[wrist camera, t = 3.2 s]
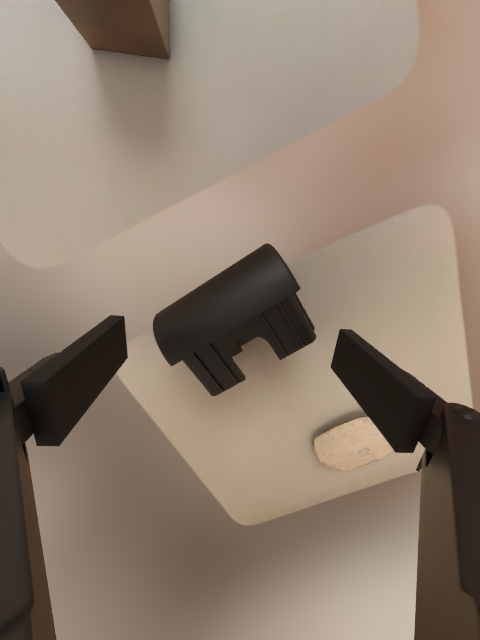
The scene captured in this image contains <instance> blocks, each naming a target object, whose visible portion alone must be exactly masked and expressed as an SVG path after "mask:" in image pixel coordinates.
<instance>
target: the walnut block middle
mask: <svg viewBox="0 0 480 640" xmlns="http://www.w3.org/2000/svg"><path fill="white" fill-rule="evenodd" d="M55 1H56V2H57V4H58V5H59V6H60V8H61V9H62V10H63V12H64V13H65V14H66V15H67V17H68V18H69V19H70V21H71V22H72V23H73V25H74V26H75V27H76V29H77V30H78V31H79V33H80V34H81V35H82V37H83V38H84V39H85V41H86V42H87V43H88V45H89V46H90V47H91V48H95V49H102V50H109V51H116V52H124V53H131V54H138V55H145V56H153V57H160V58H167V59H169V57H170V51H169V0H55Z"/></svg>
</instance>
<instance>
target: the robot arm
mask: <svg viewBox="0 0 480 640" xmlns="http://www.w3.org/2000/svg"><path fill="white" fill-rule="evenodd" d="M127 358H128V356H127V344H126V333H125V320H124V316H114V315H111V316H109V317H108V318H106V319H105V320H104V321H102V322H101V323H99V324H98V325H97V326H95V327H94V328H93V329H91V330H90V331H89V332H87V333H86V334H84V335H83V336H82V337H80V338H79V339H78V340H76V341H75V342H73V343H72V344H71V345H69V346H68V347H67V348H65V349H64V350H63V351H62V352H60V353H55V354H52V355H50V356H47V357H45V358H43V359H42V360H40V361H39V362H37V363H36V364H35V365H34V366H32V367H30V368H29V369H27V371H24V372H23V373H21V374H20V375H19V376H17V377H16V378H14V379H13V380H12V381H10V382H9V383H8V381H7V377H6V374H5V370H4V369H3V368H2V367H0V640H56V635H55V628H54V622H53V615H52V608H51V602H50V596H49V590H48V583H47V576H46V570H45V564H44V557H43V550H42V544H41V537H40V531H39V524H38V518H37V511H36V505H35V498H34V492H33V485H32V479H31V472H30V466H29V460H28V453H27V448H26V444H25V442H26V441H27V440H28V439H29V437H30V436H31V435H32V434H33V433H34V436H35V440H36V444H37V446H60V444H61V443H62V442H63V440H64V439H65V438H66V437H67V435H68V434H69V433H70V431H71V430H72V429H73V427H74V426H75V425H76V424H77V422H78V421H79V420H80V418H81V417H82V416H83V415H84V413H85V412H86V411H87V409H88V408H89V407H90V406H91V404H92V403H93V402H94V400H95V399H96V398H97V397H98V395H99V394H100V393H101V391H102V390H103V389H104V388H105V386H106V385H107V383H108V382H109V381H110V380H111V378H112V377H113V376H114V375H115V373H116V372H117V371H118V369H119V368H120V367H121V366H122V364H123V363H124V362H125V360H126V359H127ZM331 368H332V370H333V371H334V372H335V374H336V375H337V376H338V378H339V379H340V380H341V381H342V383H343V384H344V385H345V387H346V388H347V389H348V391H349V392H350V393H351V395H352V396H353V397H354V398H355V400H356V401H357V402H358V404H359V405H360V406H361V408H362V409H363V410H364V412H365V413H366V414H367V416H368V417H369V418H370V419H371V421H372V422H373V423H374V425H375V426H376V427H377V429H378V430H379V431H380V433H381V434H382V435H383V436H384V438H385V439H386V440H387V442H388V443H389V444H390V446H391V447H392V448H393V450H394V451H395V452H396V453H413V452H414V450H415V448H416V445H417V443H418V441H419V442H420V443H421V444H422V445H423V446H424V447H425V451H424V453H423V455H422V458H421V460H420V462H419V464H418V466H417V469H416V470H417V471H420V469H422V472H421V496H420V519H419V520H420V521H419V542H418V567H417V590H416V591H417V592H416V613H415V636H414V640H480V413H479V412H477V411H476V410H474V409H472V408H469V407H467V406H464V405H461V404H457V403H447V402H446V401H444V400H443V399H442V398H441V397H439V396H438V395H437V394H435V393H434V392H433V391H432V390H430V389H429V388H428V387H425V385H424V384H423V383H421V382H419V380H417V379H416V378H415V377H414V376H412V375H411V374H409V373H407V372H406V371H404V370H402V369H401V368H399V367H398V366H397V365H396V364H394V363H393V362H392V361H390V360H389V359H388V358H387V357H385V356H384V355H383V354H382V353H380V352H379V351H378V350H377V349H375V348H374V347H373V346H372V345H370V344H369V343H368V342H366V341H365V340H364V339H363V338H361V337H360V336H359V335H358V334H356V333H355V332H354V331H353V330H348V329H340V331H339V335H338V339H337V343H336V347H335V351H334V355H333V360H332V364H331Z"/></svg>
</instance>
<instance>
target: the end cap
mask: <svg viewBox="0 0 480 640" xmlns="http://www.w3.org/2000/svg"><path fill="white" fill-rule="evenodd" d="M299 290H300V286H299V285H298V283H297V281H296V279H295V278H294V276H293V274H292V273H291V271H290V269H289V268H288V266H287V265H286V263H285V262H284V260H283V259H282V257H281V256H280V255H279V253H278V252H277V251H276V249H275V248H274V247H273V246H272V245H270V244H264V245H263V246H261V247H260V248H258V249H257V250H255V251H254V252H252V253H250V254H249V255H247V256H246V257H244V258H243V259H241V260H240V261H238V262H236V263H235V264H233V265H232V266H230V267H229V268H227V269H226V270H224V271H222V272H221V273H220V274H218V275H216V276H215V277H213V278H212V279H210V280H209V281H207V282H206V283H204V284H202V285H201V286H199V287H198V288H196V289H195V290H193V291H191V292H190V293H188V294H187V295H185V296H184V297H182V298H181V299H179V300H177V301H176V302H174V303H173V304H171V305H170V306H168V307H167V308H165V309H164V310H162V311H160V312H159V313H158V314H156V316H155V318H154V321H153V332H154V336H155V339H156V342H157V345H158V347H159V349H160V351H161V352H162V354H163V356H164V357H165V359H166V360H167V362H168V363H169V364H170V366H173V365H175V364H176V363H178V362H180V361H181V360H183V361H184V362H185V364H186V365H187V366H188V367H189V369H190V370H191V371H192V372H193V373H194V375H195V376H196V377H197V378H198V380H199V381H200V382H201V383H202V384H203V386H204V387H205V388H206V389H207V390H208V392H209V393H210V394H211V395H212V396H216V395H218V394H220V393H222V392H224V391H226V390H227V389H229V388H231V387H233V386H235V385H236V384H238V383H240V382H242V381H244V380H245V375H244V374H243V373H242V371H241V370H240V369H239V367H238V366H237V364H236V363H235V362H234V360H233V358H232V357H233V356H235V355H236V354H238V353H240V352H242V348H241V347H240V346H242V345H244V344H245V343H247V342H249V341H251V340H252V339H254V338H256V337H257V336H258V337H261V338H263V339H265V340H266V341H267V342H268V343H269V344H270V345H271V347H272V348H273V350H274V351H275V353H276V354H277V356H278V358H279V359H280V360H281V359H283V358H285V357H287V356H289V355H290V354H292V353H294V352H296V351H298V350H299V349H301V348H303V347H305V346H307V345H308V344H310V343H312V342H313V341H314V340H315V339H316V334H315V333H314V329H315V328H314V326H313V324H312V322H311V320H310V318H309V317H308V315H307V313H306V311H305V309H304V308H303V306H302V304H301V302H300V300H299V299H298V297H297V295H296V293H295V292H297V291H299Z"/></svg>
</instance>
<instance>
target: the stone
mask: <svg viewBox="0 0 480 640" xmlns="http://www.w3.org/2000/svg"><path fill="white" fill-rule="evenodd" d="M314 451H315V453H316V455H317V457H318V459H319V460H320V462H322V463H324V464H325V465H326V466H327V467H335V468H338V469H340V470H343V471H347V470H350V469H353V468H355V467H358V466H360V465H364V464H368V463H369V462H370V461H372V460H381V459H382V458H383V457H385V456H386V455H388V454H390V453H391V452H392V451H394V450H393V448H392V447H391V446H390V444H389V443H388V442H387V440H386V439H385V438H384V436H383V435H382V434H381V433H380V431H379V430H378V429H377V427H376V426H375V425H374V423H373V422H372V421H371V419H370V418H369V417H359V418H357V419H354V420H351V421H349V422H347V423H344V424H341V425H340V426H336V427H334V428H332V429H331V430H329V431H327V432H324V433H323V434H321V435H319V436H318V437H317V438H315V440H314Z"/></svg>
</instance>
